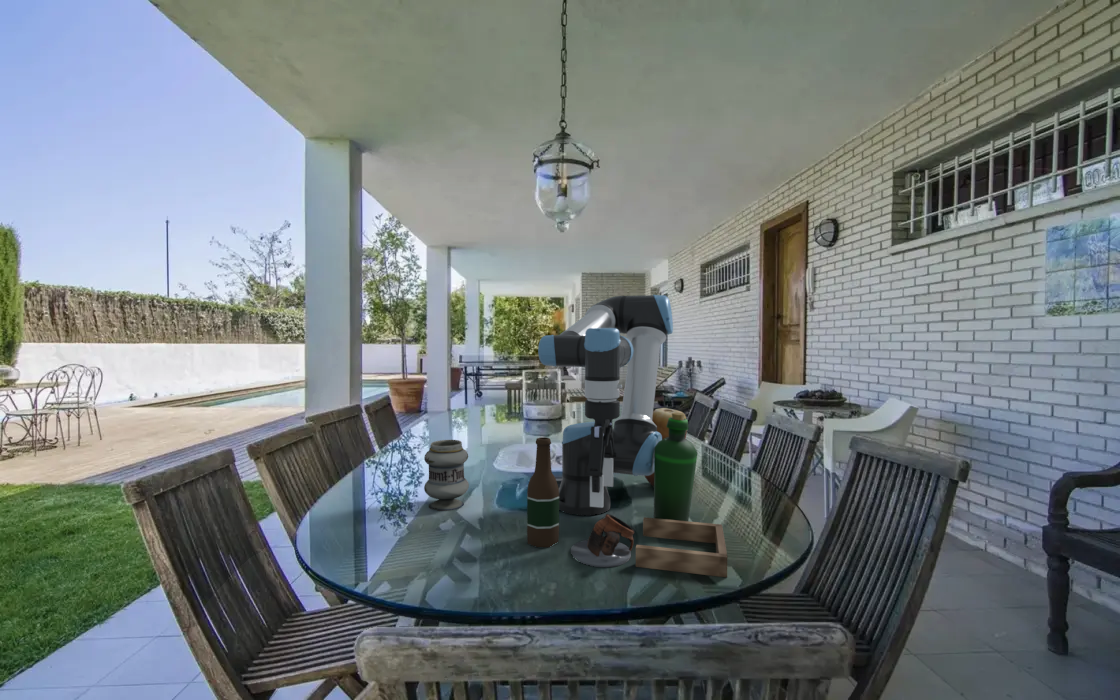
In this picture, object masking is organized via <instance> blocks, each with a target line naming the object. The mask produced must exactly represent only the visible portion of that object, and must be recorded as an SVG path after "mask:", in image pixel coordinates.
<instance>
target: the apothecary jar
mask: <svg viewBox="0 0 1120 700" xmlns="http://www.w3.org/2000/svg"><path fill="white" fill-rule="evenodd" d="M429 447H430V448H429V450H428V451H427V452H426V453H425V454H424V460H423V461H425V463H426V464H427V465H428V480H427V481H425V484H424V488H423V490H424V492H425V494H426V495H427V496H428V497H430V498H432V499H435V501H432V502H430V504H428V508H429V509H430V510H435V511H437V512H451V511H455V510H459V509H461V508H463V506H464V505H465V502H463V501H462V500H459V499H457V498H459V497H462V496H463V495H465V494H466V493H467V492H468V490H469V488H470V484H469V481H468V480H467V478H465V466H464V465H465V463H466V462H467V460H468V458H469V454H468V451H467V450H465V449H464V448H463V447H464V446H463V442H462V441H461V440H457V439H442V440H437V441H435V440H434V441H432V442H431V443H430V445H429Z"/></svg>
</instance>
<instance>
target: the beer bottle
mask: <svg viewBox="0 0 1120 700" xmlns="http://www.w3.org/2000/svg"><path fill="white" fill-rule="evenodd" d="M535 444H536V450H535V451H536V452H535V466H534V467H535V468H534V472H533V474H532V475H531V477H530V478H529V481H528V485H527V492H526V494H527V495H526V499H527V500H526V501H527V502H526V503H527V504H526V506H527V507H526V534H527V536H526V537H527V544H528V545H529V544H531V545H530V546H532V545H533V546H532V547H534V546H536V547H535V548H537V547H543V548H551V547H550V546H552V545H553V544H555V543H557V542H558V543H559V539H560V511H559V484H558V482H557V478H556V477H555V475H554V474H553V470H552V459H551V458H552V457H551V456H552V455H551V444H552V442H551V438H550V437H547V436H544V437H542V436H541V437H537V438H536V441H535ZM552 547H553V546H552Z"/></svg>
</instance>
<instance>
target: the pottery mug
mask: <svg viewBox="0 0 1120 700" xmlns="http://www.w3.org/2000/svg"><path fill="white" fill-rule="evenodd" d="M634 534H635V530H634V529H633V527H632V526H630V525H629V524H627V523H626V522H624V521H623V520H622V519H620V518H618V517H616V516H615V515H612V514H608V513H606V514H605V516H604V517H603V518H601V519H599V520H598V521H596V523H594V526H593V527H592V529H591V532H590V535H589V537H588V539H589V540H588V539H587V540H588V544H587V547H588V549H589V550H590V551H591V552H592V553H593V554H595V555H596V556H599V553H600V551H602V553H603V554H604V555H606V556H611V555H612V554H613V552H614V549H615V547H616V546H617V544H618V543H619V542H620V537H623V538H625V539H628V541H629V542H630V544H629V550H630V551H632V550H633V547H634V537H633V536H634Z"/></svg>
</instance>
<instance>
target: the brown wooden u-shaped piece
mask: <svg viewBox="0 0 1120 700" xmlns="http://www.w3.org/2000/svg"><path fill="white" fill-rule="evenodd" d="M642 521H643V522H642V536H643V537H649V538H658V539H670V540H678V541H688V542H699V543H705V544H706V543H708V544H715V552H708V551H699V550H690V549H682V548H679V549H678V548H672V547H663V546H662V547H661V546H653V545H644V544H636V546H635V567H636V568H643V569H652V570H660V571H661V570H662V571H670V572H677V573H688V574H694V575H695V574H696V575H703V576H704V575H705V576H712V577H720V578H728V554H727V553H728V552H727V545H726V540H725V533H724V529H723V524H722V523H721V524H719V523H710V522H701V521H700V522H697V521H689V520H688V521H679V520H668V519H657V518H654V517H645V516H644V517H643V519H642Z"/></svg>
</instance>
